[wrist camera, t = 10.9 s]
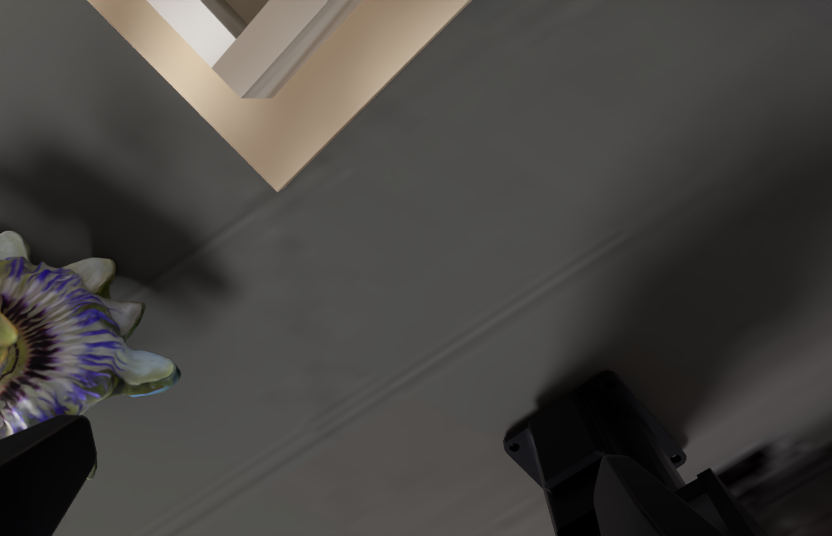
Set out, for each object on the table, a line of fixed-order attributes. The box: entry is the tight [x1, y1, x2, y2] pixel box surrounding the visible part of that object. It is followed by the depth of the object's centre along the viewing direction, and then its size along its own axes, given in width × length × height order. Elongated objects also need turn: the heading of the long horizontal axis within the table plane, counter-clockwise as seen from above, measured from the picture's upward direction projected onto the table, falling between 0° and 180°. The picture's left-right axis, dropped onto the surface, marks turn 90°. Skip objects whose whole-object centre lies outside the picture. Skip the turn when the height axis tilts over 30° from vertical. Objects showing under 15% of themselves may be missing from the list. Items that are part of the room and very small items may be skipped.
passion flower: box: [0, 231, 181, 480], centre depth 19 cm, size 11×11×12 cm
